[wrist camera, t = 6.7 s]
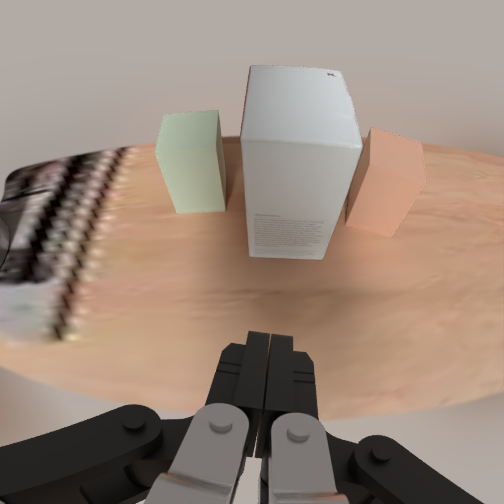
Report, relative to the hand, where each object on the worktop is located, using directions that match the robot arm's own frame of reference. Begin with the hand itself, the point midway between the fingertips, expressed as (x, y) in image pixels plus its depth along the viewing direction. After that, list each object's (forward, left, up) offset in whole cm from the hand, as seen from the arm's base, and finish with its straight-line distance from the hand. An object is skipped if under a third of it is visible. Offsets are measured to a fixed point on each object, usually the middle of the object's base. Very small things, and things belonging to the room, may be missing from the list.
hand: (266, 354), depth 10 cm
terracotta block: (+8, +16, -12) cm, 22 cm away
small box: (0, +14, -13) cm, 19 cm away
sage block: (-8, +16, -12) cm, 21 cm away
